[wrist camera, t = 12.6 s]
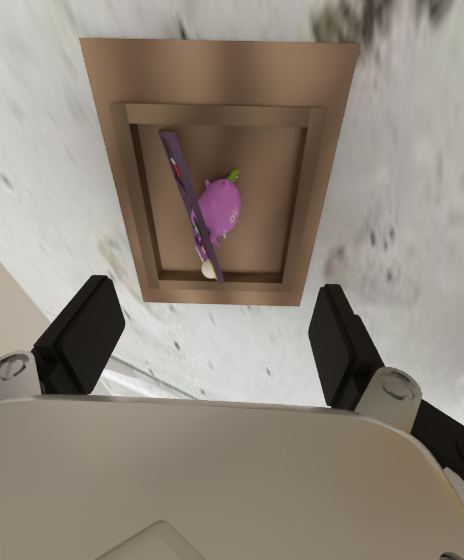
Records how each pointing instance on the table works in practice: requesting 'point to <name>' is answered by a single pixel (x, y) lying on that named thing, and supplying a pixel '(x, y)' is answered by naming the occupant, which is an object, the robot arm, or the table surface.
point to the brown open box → (221, 156)
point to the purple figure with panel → (205, 206)
